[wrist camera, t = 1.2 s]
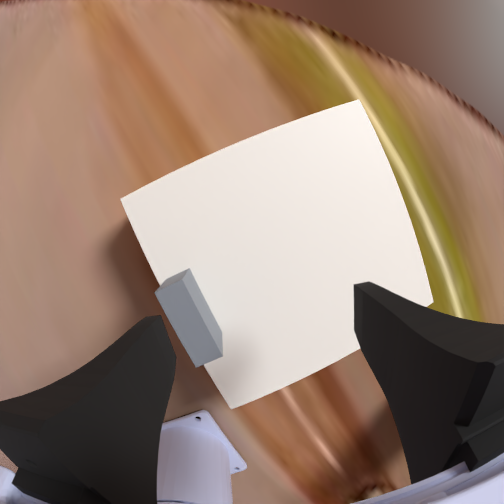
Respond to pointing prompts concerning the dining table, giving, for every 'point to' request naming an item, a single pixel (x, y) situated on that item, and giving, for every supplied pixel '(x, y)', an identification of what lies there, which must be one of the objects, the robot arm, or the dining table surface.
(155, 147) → the dining table surface
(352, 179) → the lid
